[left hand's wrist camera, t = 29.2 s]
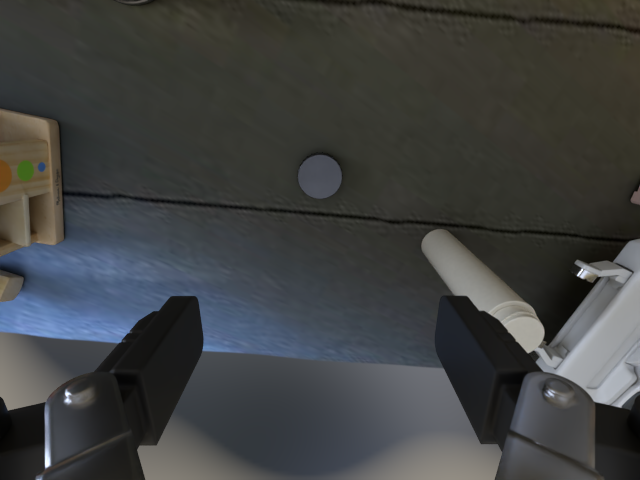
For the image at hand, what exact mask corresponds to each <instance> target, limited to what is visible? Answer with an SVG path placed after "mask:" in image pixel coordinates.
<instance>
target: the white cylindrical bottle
mask: <svg viewBox="0 0 640 480" xmlns="http://www.w3.org/2000/svg"><path fill="white" fill-rule="evenodd" d="M421 249H422V252H423V254H424V255H425V257H426V258H427V259H428V261H429V262H430V264H431V265H432V266H433V268H434V269H435V270H436V272H437V273H438V274H439V276H440V277H441V278H442V280H443V281H444V282H445V284H446V285H447V287H448V288H449V289H450V291H451V292H452V293H453V295H454V296H468V297H469V299H470V300H471V301H472V302H473V304H474V305H475V306H476V307H477V308H478V310H479V311H486V312H487V313H489V314H490V315H492V316H493V317H495V318H497V319H498V320H499V321H500V322H501V323H502V324H503V325H504V327H505V328H506V329H507V330H508V333H511V335H512V336H513V337H514V338H515V339H516V342H518V343H519V344H520V345H521V346H522V347H523V348H524V350H525V351H526V352H527V353H530V352H532V351H533V350H535V349H536V348H537V347H538V346H539V345H540V344H541V342H542V340H543V338H544V327H543V325H542V323H541V322H540V320H539V319H538V317H537V316H536V313H535V310H534V309H533V308H532V307H531V306H530V305H529V304H528V303H527V302H526V301H525V300H524V299H523V298H522V297H520V296H519V295H518V294H517V293H516V292H515V291H514V290H513V289H512V288H511V287H509V286H508V285H507V284H506V283H505V282H504V281H503V280H502V279H501V278H500V277H498V276H497V275H496V274H495V273H494V272H493V271H492V270H491V269H490V268H489V267H488V266H486V265H485V264H484V263H483V262H482V261H481V260H480V259H479V258H478V257H477V256H475V255H474V254H473V253H472V252H471V251H470V250H469V249H468V248H467V247H466V246H464V245H463V244H462V243H461V242H460V241H459V240H458V239H457V238H456V237H455V236H453V235H452V234H451V233H450V232H449V231H447V230H443V229H437V230H433V231H431V232H429V233H428V234H427V235H426V236H425V237H424V239H423V241H422V245H421Z"/></svg>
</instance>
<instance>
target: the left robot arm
mask: <svg viewBox="0 0 640 480" xmlns="http://www.w3.org/2000/svg"><path fill="white" fill-rule="evenodd" d="M115 1H117V2H119V3H122V4H126V5H143V4H147V3H150V2H152V1H154V0H115ZM435 347H436V352H437V355H438V357H439V359H440V361H441V363H442V365H443V367H444V369H445V371H446V373H447V376H448V378H449V380H450V382H451V384H452V386H453V388H454V390H455V392H456V394H457V396H458V398H459V400H460V402H461V404H462V406H463V408H464V410H465V412H466V414H467V416H468V419H469V421H470V423H471V425H472V427H473V429H474V431H475V433H476V435H477V437H478V439H479V441H480V443H481V444H498V445H499V447H500V449H501V451H502V456H501V459H500V463H499V466H498V470H497V474H496V477H495V480H640V395H639V396H637V397H636V398H635V401H634V403H633V406H632V408H631V410H629V409H625V408H620V407H616V406H611V405H607V404H602V403H598V402H594V401H593V399H592V398H591V396H590V395H589V394H588V393H587V392H586V391H585V390H584V389H583V388H582V387H580V386H579V385H578V384H576V383H574V382H573V381H571V380H569V379H567V378H565V377H562V376H560V375H557V374H553V373H549V372H544V371H543V370H542V369H541V368H540V367H539V366H538V365H537V363H536V362H535V361H534V360H533V359H532V358H531V356H530V355H529V354H528V353H527V352H526V351H525V350H524V348H523V347H522V346H521V345H520V344H519V343H518V342H516V339H515V338H514V337H513V336H512V335H511V333H508V330H507V329H506V328H505V327H504V325H503V324H502V323H501V322H500V321H499V320H498V319H497V318H495V317H493V316H492V315H490V314H489V313H487V312H486V311H479V310H478V308H477V307H476V306H475V305H474V304H473V302H472V301H471V300H470V299H469V297H468V296H442V297H441V299H440V303H439V310H438V317H437V325H436V332H435ZM202 349H203V331H202V324H201V317H200V309H199V303H198V299H197V297H196V296H171V297H170V298H169V299H168V300H167V302H166V303H165V304H164V305H163V306H162V308H161V309H160V310H159V311H153V312H152V313H150V314H149V315H147V316H145V317H144V318H142V319H141V320H139V321H138V322H137V323H136V325H135V326H134V327H133V328H132V329H131V330H130V333H128V334H127V335H126V336H125V337H124V338H123V339H122V342H121V343H119V344H118V345H117V346H116V347H115V349H114V350H113V351H112V352H111V353H110V354H109V356H108V357H107V358H106V359H105V360H104V361H103V362H102V363H101V365H100V366H99V367H98V368H97V369H96V370H95V371H94V372H91V373H87V374H84V375H80V376H78V377H75V378H73V379H71V380H69V381H67V382H66V383H64V384H62V385H61V386H60V387H58V388H57V389H56V390H55V391H54V392H53V393H52V394H51V395H50V396H49V398H48V399H47V401H46V402H44V403H40V404H36V405H31V406H27V407H22V408H18V409H14V410H9V411H8V410H7V408H6V405H5V403H4V400H3V399H2V398H1V397H0V480H145V477H144V474H143V470H142V467H141V463H140V459H139V456H138V452H137V449H138V447H139V445H157V443H158V441H159V439H160V437H161V435H162V433H163V431H164V429H165V427H166V425H167V423H168V421H169V419H170V417H171V415H172V413H173V411H174V409H175V407H176V405H177V403H178V401H179V399H180V397H181V395H182V392H183V391H184V389H185V386H186V384H187V382H188V380H189V378H190V376H191V374H192V372H193V370H194V368H195V366H196V364H197V362H198V360H199V358H200V356H201V353H202Z"/></svg>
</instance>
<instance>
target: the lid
mask: <svg viewBox="0 0 640 480" xmlns="http://www.w3.org/2000/svg"><path fill="white" fill-rule="evenodd" d="M341 171H342V169H340V164H338V162H337V160H335V159H334V158H333V156H330V155H328V154H325V153H323V152H322V153H315V154H311V155H310V156H307V157H306V159H305V160H303V162H302V164H300V169H299V170H298V176H297V177H298V183H299V185H300V187H301V189H302V190H303V191H304V192H305V193H306V194H307V195H308V196H310V197H313V198H316V199H324V198H328V197H330V196H332V195H333V194H334V193H335V192H336V191H337V190H338V189H339V187H340V185H341V182H342V177H343V175H342V172H341Z"/></svg>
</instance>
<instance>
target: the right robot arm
mask: <svg viewBox="0 0 640 480" xmlns="http://www.w3.org/2000/svg"><path fill="white" fill-rule="evenodd" d="M569 271H570V272H571V273H574V275H576V276H578V277H580V278H582V279H585V280H587V281H589V282H592V283H593V282H594V280H595V279H596V278H597V277H601V276H602V277H601V278H600V279H599V281H598V282H597V283H596V284H595V286H594V287H593V288H592V290H591V291H590V292H589V294H588V295H587V296H586V297H585V299H584V300H583V301H582V303H581V304H580V305H579V307H578V308H577V309H576V310H575V312H574V313H573V314H572V316H571V317H570V318H569V319H568V321H567V322H566V323H565V325H564V326H563V327H562V329H561V330H560V331H559V332H558V334H557V335H556V336H555V338H554V339H553V340H552V341H551V343H550V344H549V345H548V346H546V345H545V344H546V343H547V342H546V341H545V340H544V339H543V340H542V342H541V344H540V345H539V346H538V347H537V348H536V349H535V350H534V351H535V352H536V353H537V354H538V355H539V358H538V360H537V361H536V363H537V365H538V366H539V367H540V368H541V369H542V370H543V371H544V372H549V373H553V374H557V375H560V376H562V377H565V378H567V379H569V380H571V381H573V382H574V383H576V384H578V385H579V386H580V387H582V388H583V389H584V390H585V391H586V392H587V393H588V394H589V395H590V396H591V398H592V399H593V401H594V402H598V403H602V404H607V405H611V406H616V407H620V408H625V409H629V410H631V408H632V406H633V403H634V401H635V398H636V397H637V396H639V395H640V239H636V240H632V241H630V242H628V243H627V244H626V246H625V247H624V248H623V250H622V251H621V252H620V253H619V255H618V256H617V257H616V259H615V260H614V261H613V263H612V262H610V261H601V262H595V263H590V264H587V263H585V262H582V261H580V260H576V262H575V263H574V264H573V266H572V267H571V269H570V270H569Z"/></svg>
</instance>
